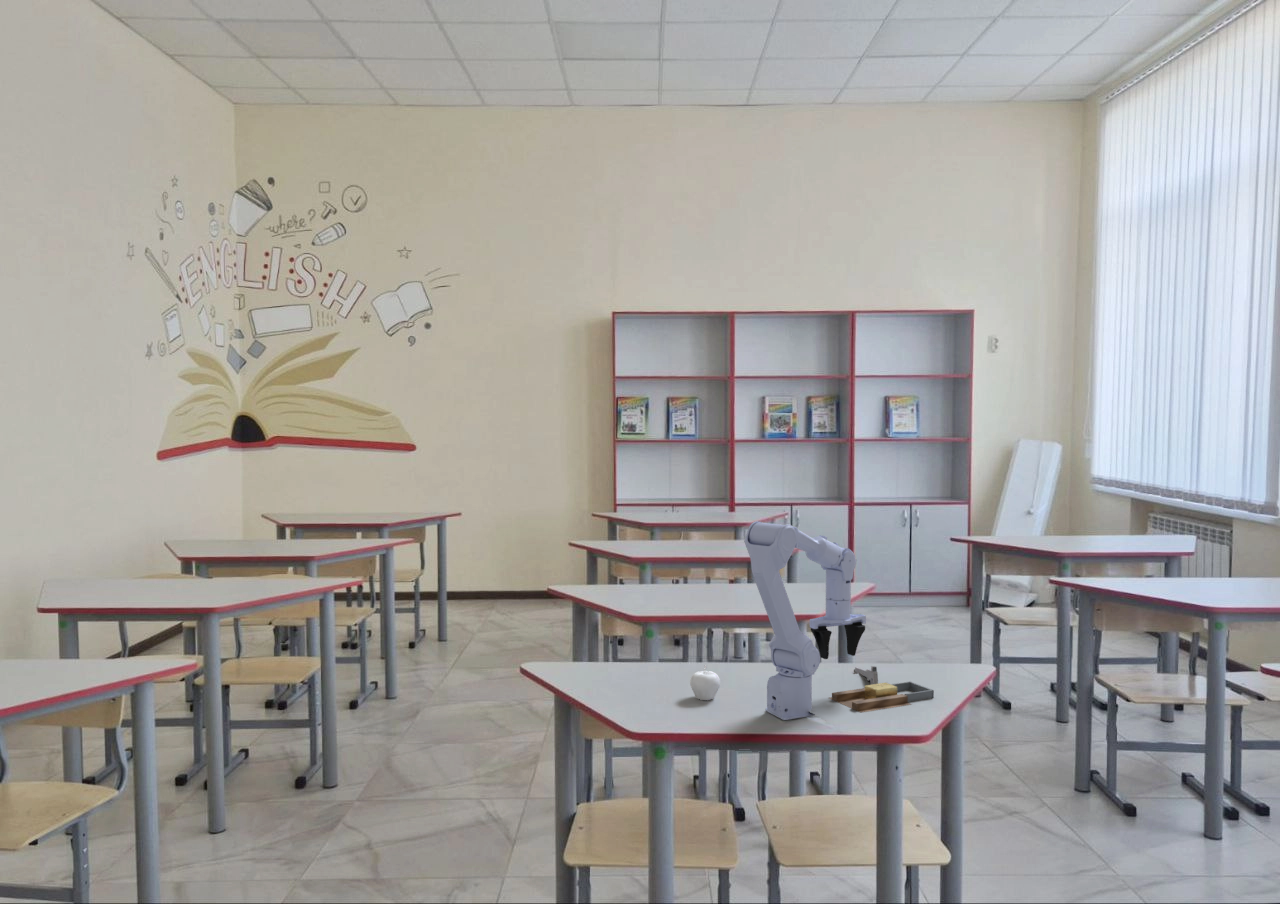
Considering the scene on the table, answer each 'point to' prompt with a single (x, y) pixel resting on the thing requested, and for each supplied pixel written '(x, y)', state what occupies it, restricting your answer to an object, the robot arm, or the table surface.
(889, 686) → the block
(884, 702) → the slot board
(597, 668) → the table surface
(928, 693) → the tray
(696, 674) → the plain white apple
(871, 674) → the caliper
